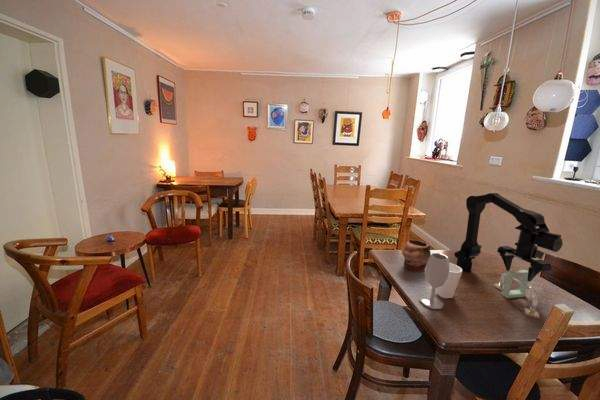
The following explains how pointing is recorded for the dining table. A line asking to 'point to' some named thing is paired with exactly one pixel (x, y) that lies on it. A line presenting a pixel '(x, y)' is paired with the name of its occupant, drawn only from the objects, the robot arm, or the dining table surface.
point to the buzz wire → (531, 311)
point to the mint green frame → (508, 281)
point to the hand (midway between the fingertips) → (518, 275)
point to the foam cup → (450, 282)
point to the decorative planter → (416, 255)
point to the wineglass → (435, 278)
